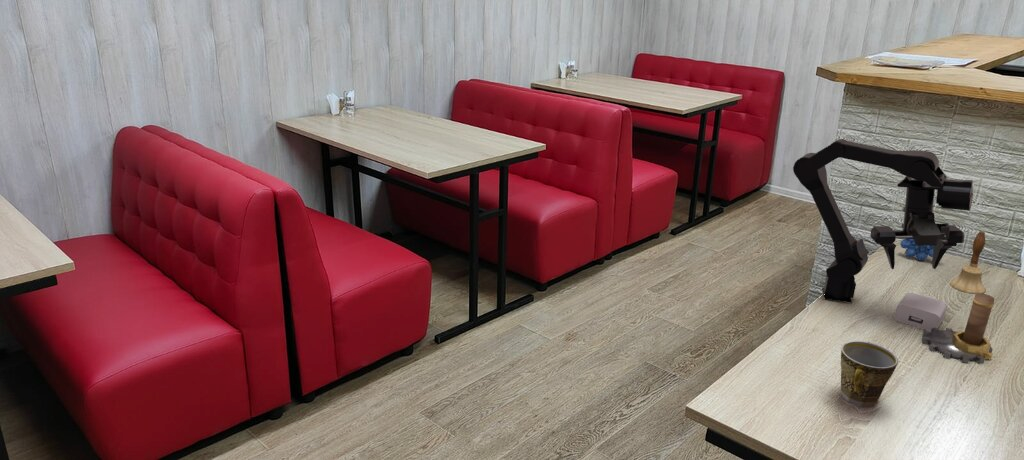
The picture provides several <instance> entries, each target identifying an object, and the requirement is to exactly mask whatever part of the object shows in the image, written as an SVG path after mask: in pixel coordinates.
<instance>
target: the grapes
mask: <svg viewBox="0 0 1024 460" xmlns="http://www.w3.org/2000/svg"><path fill="white" fill-rule="evenodd" d="M899 243H900V245H899V246H900V247H901V248H902V249H905V252H904V254H905V256H906V257H908V258H912V257H913V258H914V257H915V258H916V260H918V261H924V260H926V259H928V257H930V258H933V248H934V246H932V245H924V246H918V245H916V244H915V242H914V239H913V238H903V239H902V240H901V242H899Z"/></svg>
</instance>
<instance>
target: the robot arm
mask: <svg viewBox="0 0 1024 460" xmlns="http://www.w3.org/2000/svg"><path fill="white" fill-rule="evenodd" d="M839 158H840V159H845V160H849V161H855V162H859V163H864V164H868V165H873V166H878V167H881V168H882V167H883V168H888V169H891V170H894V171H895V172H897V173H899V174H900V175H902V176H905V177H904V178H903V179H902V180H900V181H899V182H898V183H897V187H898V188H906V193H905V204H904V206H903V209H902V212H903V214H904V215H903V223H901V228H902V230H901V229H899V230H894V229H892V227H890V226H889V225H888V226H887V225H881V226H880V225H879V226H876V225H875V226H873V227H872V228H871V229H870V236H869V237H870V238H871V239H872V241H874V242H875V243H876V244H878V245H880V246H881V247H883V250H884V252H885V254H886V257H887V258H886V259H887V261H888V263H889V266H890V269H892V270H894V269H895V263H896V261H895V260H896V259H895V257H896V256H895V253H896V252H895V249H896V247H897V245H896V244H895V242H896V239H906V238H913V239H914V242H915V244H916V245H918V246H924V245H932V246H934V248H933V257H931V258H932V259H931V267H932V269H933V270H936V269H937V267H938V265H939V264H940V262H941V260H942V258H943V257H944V255H945V254H946V252H947V251H948V250H950V248H952V247H956V246H957V245H958V244H963V243H965V232H964V231H962V230H961V229H960V228H959V227H957V226H956V225H954V224H953V225H951V224H950V225H949V223H945V222H944V223H940V222H939V223H938V222H937V223H936V220H935V218H936V217H935V212H934V202H935V198H936V203H935V204H937V206H938V207H940V208H941V209H943V210H944V209H945V210H947V209H948V210H957V211H968V212H970V211H971V210H972V209H971V208H972V204H973V198H974V192H973V190H974V189H973V184H974V181H973V180H970V179H963V180H961V179H960V180H959V179H949V178H948V176H947V175H946V173H945V172H944V171H943V170H942V169H941V167H940V161H939V157H937V155H936V153H934V152H933V151H929V150H915V149H913V150H912V149H911V150H894V149H889V148H884V147H878V146H874V145H868V144H864V143H859V142H855V141H854V142H853V141H849V140H846V139H844V138H838V139H836V140H835V141H833V142H832V143H830V144H829V145H828V146H826V147H824V148H822V149H820V150H819V151H817V152H808V153H806V154H804V155H802V156H801V157H800V158H798V159H797V160H796V161H795V162H794V164H793V167H792V170H793V173H794V176H795V177H796V179H797V180H798V181H799V183H800V185H802V186H803V187H804V189H806V190H807V191H808V192H809V193H810V195H811V197H812V199H813V201H814V203H815V206H816V208H817V210H818V212H819V214H820V217H821V218H822V221H823V223H824V226H825V227H826V229H827V231H828V234H829V236H830V238H831V240H832V242H833V251H834V252H833V253H834V258H835V259H834V260H833V261H832V263H831V264H830V265H829V266H828V267H827V269H826V270H825V271H826V272H825V273H826V275H825V280H824V285H823V287H821V291H822V295H824V294H825V295H824V296H823V299H824V300H827V301H834V302H842V303H849V304H851V303H852V301H853V300H852V299H854V295H855V290H856V286H857V283H856V278H855V277H856V275H858V274H860V273H861V271H862V270H863V269H864V267H865V266H866V265H867V263H868V260H869V255H868V254H869V253H870V251H869V250H868V249H867V248H866V246H865V243H864V242H865V241H864V239H863V238H860V239H856V238H855V237H854V236H853V235H852V234H851V232H850V229H849V228H848V225H847V223H846V220H845V219H844V217H843V214H842V213H841V210H840V208H839V206H838V204H837V202H836V199H835V197H834V195H833V193H832V191H831V189H830V186H829V184H828V175H827V173H828V172H827V168H826V166H827V165H828V164H829V163H831V162H833V161H835V160H836V159H839ZM935 193H936V197H935Z"/></svg>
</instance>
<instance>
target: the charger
mask: <svg viewBox="0 0 1024 460" xmlns="http://www.w3.org/2000/svg"><path fill="white" fill-rule="evenodd" d="M947 308H948V304H947V303H946V302H944V301H942V300H940V299H937V298H936V297H934V296H930V295H928V294H918V293H914V292H907V293H906V294H905V295H904V296H903V298H902V299H901V300H900V301H899V303H898V304H897V305H896V308H895V312H894V316H893V319H894V320H895V321H897V322H900V323H903V324H907V325H909V326H913V327H916V328H920V329H923V330H926V331H929V330H930V331H929V332H931V329H932V328H937V329H939V327H940V325H941V324H942V321H943V320H944V318H945V315H946V312H947Z"/></svg>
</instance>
